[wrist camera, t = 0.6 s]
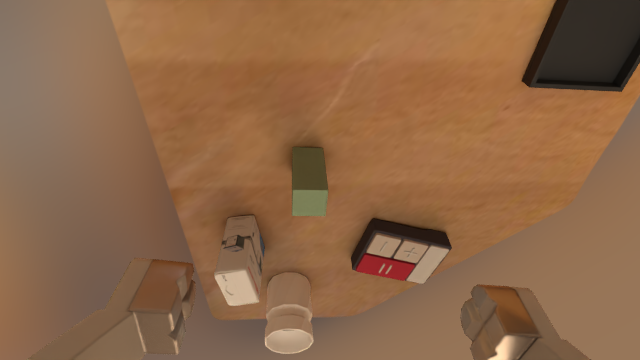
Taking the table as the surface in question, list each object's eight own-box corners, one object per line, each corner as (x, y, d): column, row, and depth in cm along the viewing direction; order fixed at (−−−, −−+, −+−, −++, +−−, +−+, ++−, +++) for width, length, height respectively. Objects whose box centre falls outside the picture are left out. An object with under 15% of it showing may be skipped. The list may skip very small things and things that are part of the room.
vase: (290, 302, 77) (289, 358, 68) (258, 286, 73) (253, 343, 64) (319, 283, 74) (323, 340, 64) (288, 265, 70) (287, 322, 60)
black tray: (574, -41, 40) (586, -38, 39) (680, -32, 42) (696, -29, 40) (521, 81, 49) (529, 87, 47) (610, 85, 50) (621, 91, 49)
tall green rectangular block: (292, 146, 53) (292, 189, 45) (323, 147, 54) (328, 190, 46) (291, 171, 56) (291, 215, 48) (320, 172, 56) (325, 216, 49)
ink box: (265, 247, 66) (261, 303, 57) (238, 250, 66) (229, 307, 57) (254, 213, 61) (247, 269, 52) (224, 217, 61) (212, 274, 52)
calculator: (375, 232, 60) (454, 250, 63) (371, 215, 64) (447, 233, 67) (351, 273, 67) (425, 287, 69) (350, 255, 70) (419, 270, 73)
